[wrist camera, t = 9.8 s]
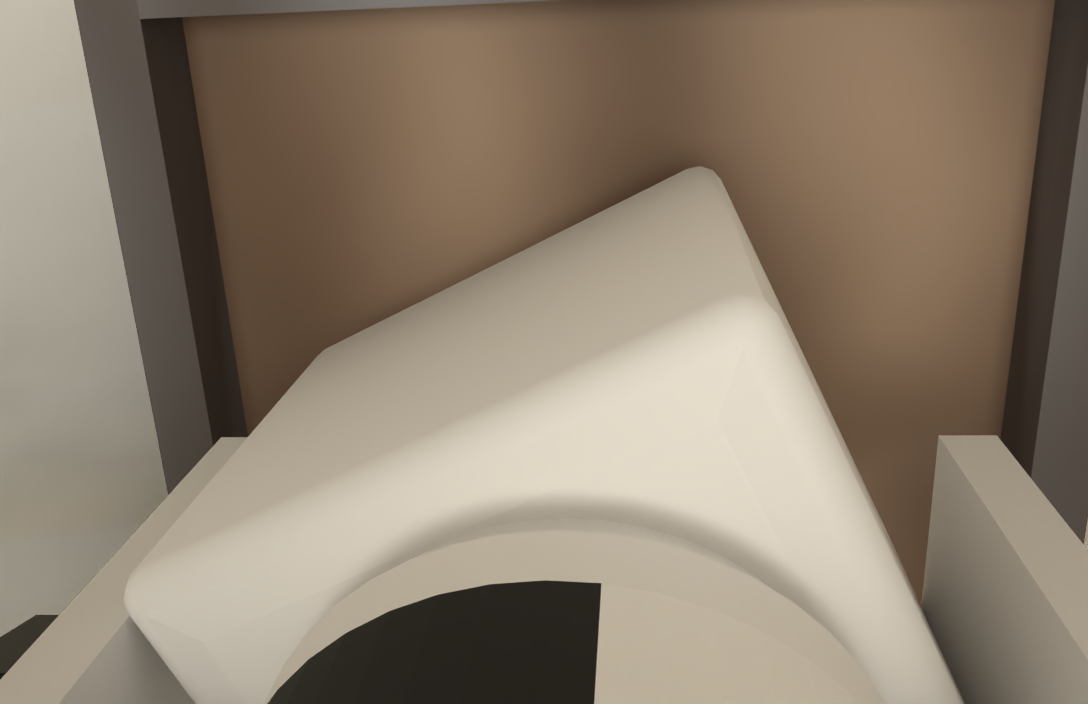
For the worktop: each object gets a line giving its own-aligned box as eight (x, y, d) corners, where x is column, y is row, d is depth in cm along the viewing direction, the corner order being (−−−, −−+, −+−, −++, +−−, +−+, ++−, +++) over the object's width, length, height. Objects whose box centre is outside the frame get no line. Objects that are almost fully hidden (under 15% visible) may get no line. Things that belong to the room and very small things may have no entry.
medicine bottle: (516, 677, 19) (331, 1744, 7) (312, 350, 17) (-364, 1118, 5) (888, 533, 17) (1386, 1632, 6) (708, 152, 15) (920, 666, 4)
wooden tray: (267, 708, 23) (225, 790, 21) (141, -44, 17) (64, -48, 15) (994, 726, 21) (1039, 818, 19) (1107, -93, 16) (1188, -107, 14)
